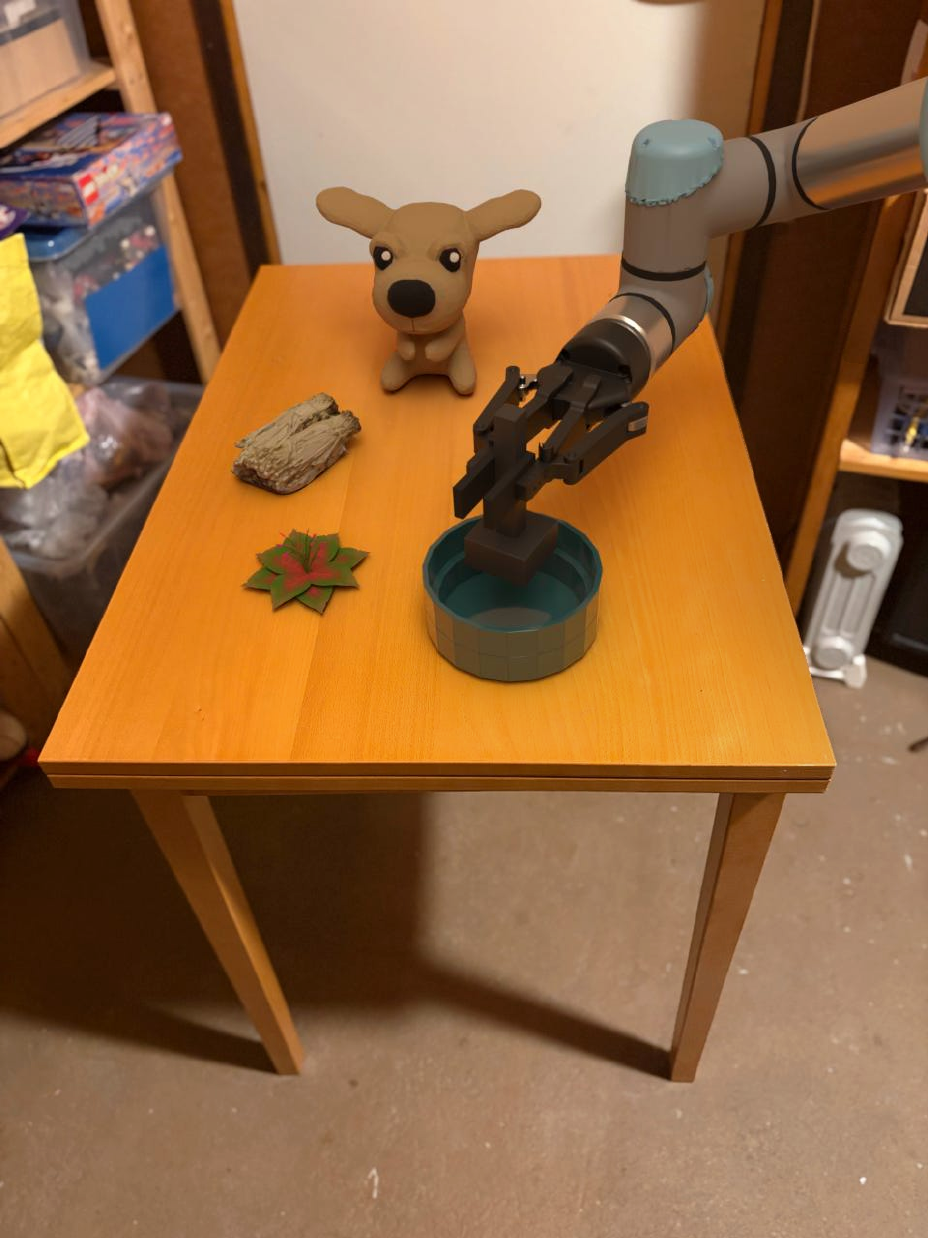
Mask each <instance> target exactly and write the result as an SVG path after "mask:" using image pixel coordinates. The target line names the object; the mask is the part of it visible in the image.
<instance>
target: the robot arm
mask: <svg viewBox="0 0 928 1238" xmlns="http://www.w3.org/2000/svg"><path fill="white" fill-rule="evenodd" d="M927 189H928V75H927V76H925V77H922V78H919V79H916V80H914V81H911V82H908V83H905V84H903V85H900V86H897V87H893V88H892V89H889V90H886V91H884V92H881V93H880V92H879V93H877V94H875V95H872V96H870V97H867V98H864V99H861V100H859V101H856V102H852V103H851V104H848V105H845V106H842V107H839V108H836V109H834V110H831V111H828V112H825V113H823V114H820V115H816V116H813V117H811V118H807V119H805V120H803V121H800V122H796V123H794V124H791V125H788V126H784V127H781V128H776V129H772V130H767V131H764V132H760V133H756V134H752V135H746V136H740V137H734V138H729V139H726V140H724V136H723V133H722V132H721V131H720V129H719V128H717V127H716V126H715V125H713V124H711V123H709V122H706V121H703V120H699V119H691V118H682V119H679V120H678V119H663V120H658V121H655V122H652V123H649V124H648V125H646V126H644V127H643V128H641V129H640V130H639V131H638V132H637V133H636V135H635V136H634V139H633V141H632V143H631V150H630V156H629V159H628V165H627V172H626V178H625V184H624V193H625V200H624V202H625V203H624V223H623V243H622V244H623V245H622V251H621V256H620V257H621V258H620V265H619V277H618V289H617V292H616V293H615V294H614V296H613V297H612V298H611V299H609V301H608V302H607V303H606V304H605V305H604V306H603V307H602V308H601V309H599V310H598V311H597V312H596V313H595V314H594V315H593V316H592V317H591V318H590V319H589V320H587V322H586V323H585V324H584V325H583V327H581V328H580V329H579V330H578V331H577V332H576V334H574V335H573V337H571V338H570V339H569V340H568V341H567V342H566V343H565V344H564V345H563V346H562V348H561V349H560V350H559V352H558V354H557V356H556V357H555V359H554V360H553V362H552V363H550V364H549V365H546V366H543V367H541V368H540V369H539V370H538V371H537V372H536V373H521V368H520V367H519V366H518V365H509V366H507V367H506V368H505V375H504V376H505V378H504V381H503V382H502V384H501V385H500V387H498V389H497V390H496V392H495V393H494V395H493V396H492V398H490V400H489V402H488V403H487V405H486V406H485V407H484V409H483V410H482V412H481V413H480V414H479V416H478V417H477V419H476V420H475V421H474V423H473V424H472V441H473V442H472V443H473V453H474V455H473V456H471V457H470V459H468V461H466V465H465V472H466V473H465V474H464V476H463V477H462V478H460V479H459V481H457V483H455V485H453V487H452V500H453V501H452V502H453V515H454V518H456V519H459V520H462V521H463V520H465V519H466V517H467V516H468V515H470V513H472V511H473V510H474V509H475V508H476V507H477V506H478V505H479V504H480V502H481V501H482V514H483V521H484V528H487V529H490V530H493V529H494V528H495V527H496V526H497V525H498V524H499V523H500V522H501V520H502V519H503V518H504V517H505V516H506V515H507V514H508V512H509V511H510V510H511V509H512V508H513V507H514V506H515V505H516V503H517V502H518V501H519V500H522V501H525V502H526V503H527V502H530V501H531V500H533V499H534V498H535V496H536V495H538V493H539V492H540V491H541V490H542V488H543V487H544V486H545V485H546V484H548V483H552V482H553V481H554V480H562V483H563V484H565V485H566V486H575V485H577V484H579V482H580V481H582V480H583V479H584V478H585V477H586V476H587V475H589V474H591V472H593V470H595V469H596V468H597V467H598V466H599V465H600V464H602V463H603V462H604V461H605V460H607V458H609V457H610V456H612V454H613V453H614V452H616V451H617V450H618V449H620V448H621V447H622V446H623V445H624V444H625V443H626V442H629V441H631V440H633V439H635V438H639V437H641V436H643V435H645V434H646V433H647V430H648V429H647V428H648V419H649V411H650V404H649V403H648V402H646V401H644V400H643V401H642V400H641V401H636V402H634V400H635V399H636V398H637V397H638V396H639V395H640V394H641V393H642V392H643V390H644V389H645V387H646V386H647V385H648V383H649V382H650V381H651V380H653V378H654V377H655V375H656V374H657V373H658V372H659V371H660V370H661V369H662V367H663V366H664V365H665V364H666V362H667V361H669V359H670V357H671V356H672V355H673V354H674V353H675V352H676V351H677V349H678V348H679V347H680V346H681V345H682V344H683V343H684V342H685V341H686V340H687V339H688V338H689V337H691V335H693V333H695V331H696V330H697V329H698V328H699V326H700V323H702V322H703V321H704V319H705V317H706V315H707V313H708V312H709V310H710V308H711V306H712V303H713V300H714V297H715V296H714V295H715V283H714V279H713V277H712V274H711V270H710V268H709V267H708V265H707V259H708V254H709V251H710V250H709V249H710V243H711V240H712V239H715V238H719V237H724V236H727V235H732V234H735V233H740V232H743V231H748V230H753V229H756V228H759V227H764V226H767V225H772V224H777V223H780V222H786V221H790V220H793V219H798V218H803V217H807V216H814V215H818V214H823V213H827V212H831V211H833V210H836V209H840V208H844V207H849V206H853V205H858V204H863V203H867V202H872V201H876V200H881V199H885V198H889V197H894V196H900V195H904V194H909V193H913V192H917V191H922V190H927ZM535 390H536V391H535ZM533 391H535V393H534V396H533V398H532V399H530V400H529V401H528V402H527V403H525V404H524V405H523V406H522V407H521V408H524V409H527V444H529V442H530V441H532V440H533V439H534V438H535V437H536V436H538V435H539V434H540V433H541V432H542V431H543V430H545V429H546V430H551V428H553V427H554V426H555V425H556V424H557V423H558V424H557V425H556V426H555V427H554V429H553V431H552V432H551V434H550V435H549V436H548V438H547V439H545V442H542V445H541V442H539V441H538V449H537V450H538V454H537V456H536V452H533V451H529V450H527V451H526V452H525V453H524V454H523V455H522V457H521V458H520V459H519V460H518V461H517V462H516V463H515V464H514V465H513V466H512V467H511V468H510V469H509V470H508V471H507V472H506V473H505V475H504V476H503V477H502V478H501V479H500V480H499V481H498V482H497V483H496V484H495V461H494V422H493V415H494V414H495V413H496V412H497V411H498V410H499V409H500V408H501V407H502V406H503V405H504V404H505V403H508V404H511V405H514V406H518V407H520V404H521V403H524V402H526V400H527V399H526V397H527V396H529V395H530V393H531V392H533ZM598 423H599V424H598ZM597 424H598V425H597ZM594 426H595V427H594ZM593 427H594V428H593ZM592 428H593V429H592ZM536 457H537V458H536Z"/></svg>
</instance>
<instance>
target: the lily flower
mask: <svg viewBox="0 0 928 1238" xmlns="http://www.w3.org/2000/svg"><path fill="white" fill-rule="evenodd" d="M309 531H310V528H307V531H306V533H304V532H302V531H297V529H294V528H292V529H291V531H290V533H289V534H288V536H286V535H285V534H283V533H282V532H279V535H281V536H282V537H284V538H285V539H284V540H283V542H282V544H280V543H276V544H275V546H273V547H271V548H268V549H265V550H264V551H262V552H258V553H255V554H254V555H255V556H256V557H257V558H258V559H259V561H260V562H261V563H262V564H263V565H264V567H262V568H259V569H258V570H256V571H255V572H254V573H253V574H252V575H250V577H249V578H248V579H247V580H246V582H245V583H243V584H241V585H240V586H239V587H245V588H254V589H259V590H260V589H261V590H268V591H270V597H271V602H272V606H271V611H274V610H275V609H276V608H278V607H279V606H282V605H283V604H284V603H285V602H288V601H290V600H291V599H292V598H294V597H295V598H296V599H297V600H298V601H300V602H302V603H303V604H304V605H306V606H307V607H310V608H312V609H315V610H317V612H318V613H319V614H321V615H322V614H323V610H324V609H325V607H326V603H328V601H329V599H330V597H331V595H332V593H333V586H344V587H350V586H351V587H356V588H361V585H360V584H358V581H357V579H356V577H355V576H353V575H354V573H353V571H352V570H351V569H352V568H353V567H354V566H355V565H357V564H358V563H359V562H361V561H362V560H363V559H365V557H366V556H368V555H369V554H370V555H371V554H372V551H365V550H362V549H360V550H358V549H357V548H353V547H350V546H349V547H345V546H343V547H340V537H339V534H340V532H336V533H329V534H326V535H325V534H322V535H321V534H320V535H318V533H313V535H312V536H311V535H310V534H309V533H310V532H309Z"/></svg>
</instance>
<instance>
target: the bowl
mask: <svg viewBox="0 0 928 1238" xmlns="http://www.w3.org/2000/svg"><path fill="white" fill-rule="evenodd" d="M534 512H535V511H534ZM535 513H538V514H541V515H544V516H547V517H550V518H553V519H555V520H558V529H557V548H556V549H555V551H554V552H553V553H552V554H551V556H550V557H549V558H548V559H547V561H546V562H545V563H544V564H543V565H542V567H541V568H540V569H539V570H538V572H537V573H536V574H535V575H534V577H533V578H532V579H531V580H530V582H529V583H528V584H527V585H526V587H525V588H524V587H521V586H518V585H516V584H513V583H511V582H508V581H505V580H503V579H500V578H498V577H495V576H492V575H490V574H487V573H484V572H482V571H479V570H477V569H474V568H471V567H469V566H466V563H465V546H464V538H465V537H466V535H467V534H468V533H469V532H470V531H471V530H472V529H473V528H474V527H475V526H476V524H477V523H478V522H479V521H480V520H481V519H482V518H483V513H482V514H479V515H476V516H472V517H469V518H464V519H463V520H462V521H460V522H458V523H456V524H455V525H453V526H451V527H450V528H448V529H446V530H445V531H443V532H442V533H441V534H440V535H439V536H438V537H437V538H436V540H435V541H434V542H433V543H431V545H430V546H429V547H428V549H427V552H426V555H425V557H424V560H423V562H422V564H421V572H422V583H423V584H422V585H423V595H424V603H425V613H426V622H427V633H428V635H429V637H430V639H431V640H432V643H433V644H434V646H435V648H436V650H437V651H438V652H439V654H440V655H442V656H443V657H444V658H445V659H446V660H447V661H449V662H450V663H451V664H452V665H453V666H455V667H456V668H458V669H460V670H462V671H465V672H467V673H469V674H471V675H474V676H477V677H479V678H484V679H489V680H496V681H502V682H518V681H530V680H538V679H541V678H544V677H548V676H550V675H552V674H555V673H559V672H562V671H564V670H565V669H566V668H568V667H569V666H571V665H572V664H573V663H575V662H576V661H578V660H579V659H581V658H582V657H584V655H585V654H586V652H587V651H588V649H589V648H590V646H591V645H592V644H593V642H594V641H595V639H596V637H597V632H598V627H599V621H600V613H601V601H602V590H603V589H602V588H603V578H604V567H603V563H602V560H601V555H600V552H599V550H598V548H597V547H596V546H595V544H594V543H593V542H592V541H591V539H590V538H589V536H587V534H586V533H584V532H583V531H582V530H580V529H578V528H576V527H575V526H574V525H573V524H570V523H569V522H567V521H565V520H564V519H560V518H557V517H554V516H551V515H549V514H546V513H544V512H543V513H542V512H535Z"/></svg>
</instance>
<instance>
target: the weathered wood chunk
mask: <svg viewBox="0 0 928 1238" xmlns="http://www.w3.org/2000/svg"><path fill="white" fill-rule="evenodd" d="M361 431H362V425H361V422H360V418H359V417H357V416H355V415H354V412H353V411H351V410H349V409H345V410H341V412H340V410H339V404H338V403H337V402H336V400H335V399H334V397H333V396H331V395H329V394H328V393H327V394H326V393H325V392H323V391H322V392H320V393H317V394H316V395H313V396H309V398H308V399H307V400H304V401H302V402H300V403H294V405H293V406H291V407H289V408H287V409H286V410H285V411H283V412H281V413H279V414H278V415H277V416H276V417H275V418H274V419H273V420H271V421H270V422H268V423H266V424H263V425H262V426H260V427H259V428H257V429H255V430H254V431H251V432H250V433H248V434H247V435H245V436H244V437H243V438H242V439H241V440H238V441H236V442H233V445H234V447H235V448H237V449H241V450H240V452H239V454H238V455H237V457H236V459H234V460H233V463H232V467H233V468H231V469H230V470H229V471H230V472H231V473H232V474H233V475H235V476H236V478H238V479H240V480H241V481H243V482H245V483H247V484H250V485H252V486H255V487H258V488H261V489H263V490H266V491H268V492H272V493H275V494H281V495H282V494H284V495H285V494H290V493H293V492H295V491H297V490H300V489H302V488H304V487H306V486H307V485H309V484H310V483H312V482H313V481H314V480H315V478H316V477H317V476H318V475H319V474H320V473H321V472H325V471H327V469H329V468H330V467H332V466H333V464H335V463H336V462H337V461H338V460H340V458H341V456H342V455H343V454H344V453H346V454H347V455H352V452H349V451H348V450H347V449H346V443H347V442H349V441H350V440H351V439H352V438H353V437H354V436H355V435H358V434H359V433H360V432H361Z"/></svg>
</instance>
